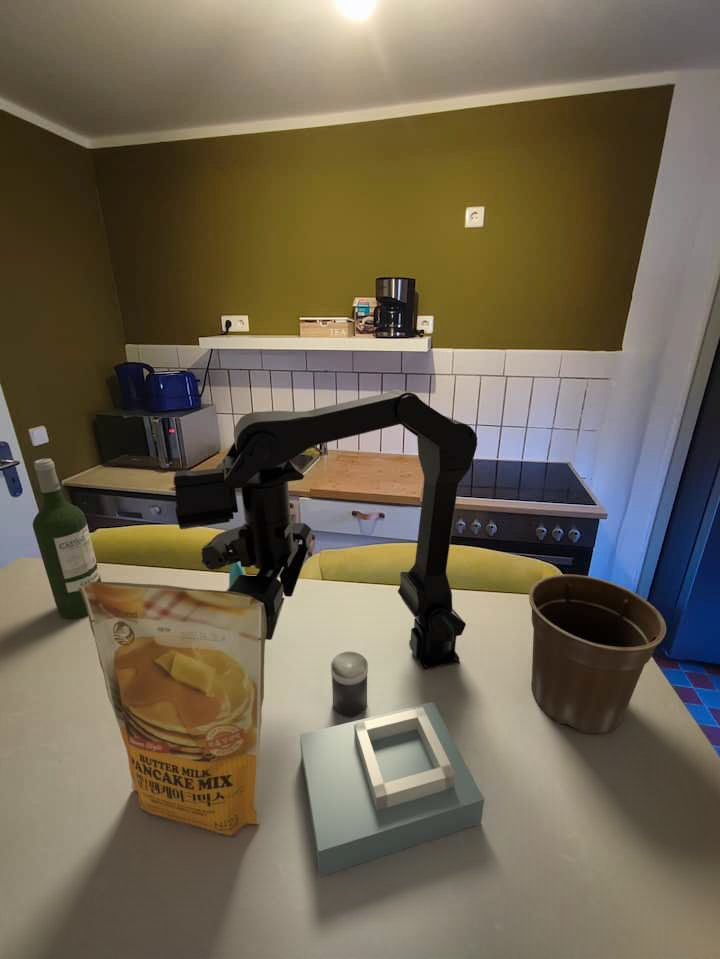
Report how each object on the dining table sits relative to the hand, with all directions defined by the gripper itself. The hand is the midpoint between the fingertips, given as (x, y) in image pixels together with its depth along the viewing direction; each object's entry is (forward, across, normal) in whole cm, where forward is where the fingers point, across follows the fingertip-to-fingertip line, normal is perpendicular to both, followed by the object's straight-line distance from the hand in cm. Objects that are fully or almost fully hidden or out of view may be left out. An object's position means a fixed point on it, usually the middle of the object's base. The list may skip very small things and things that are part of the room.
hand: (278, 615), depth 60 cm
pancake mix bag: (+14, +16, -6) cm, 22 cm away
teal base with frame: (+14, +12, +16) cm, 24 cm away
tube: (+14, -8, -9) cm, 19 cm away
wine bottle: (+13, -15, -46) cm, 50 cm away
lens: (+14, +1, +10) cm, 17 cm away
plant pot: (+15, -4, +42) cm, 45 cm away
